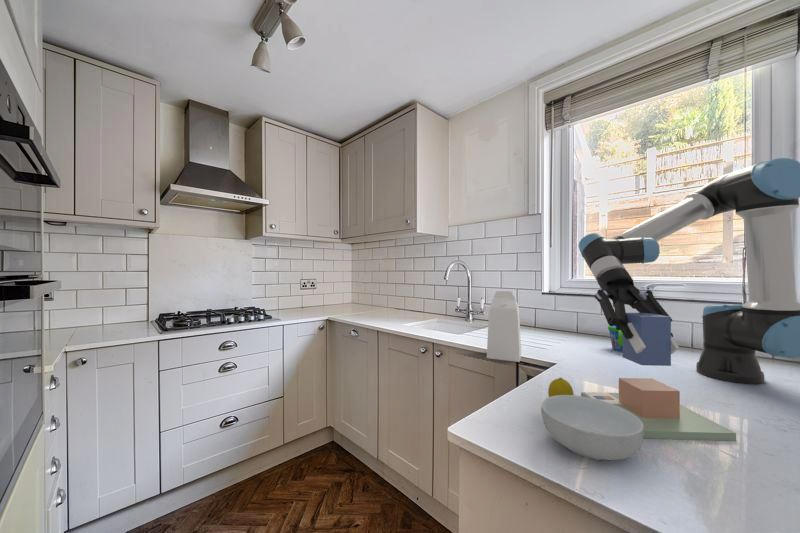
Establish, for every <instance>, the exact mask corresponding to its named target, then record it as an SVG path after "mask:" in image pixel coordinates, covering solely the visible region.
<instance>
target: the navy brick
mask: <svg viewBox="0 0 800 533" xmlns="http://www.w3.org/2000/svg"><path fill="white" fill-rule="evenodd" d="M625 314H626V318H627V324H628V323H632V325H633V326H634V328H635V330H636V331H637V333H638V335H639V336H640V338H641V340H642V341H643V343H644V345H645V346H646V348H645V349H644V350H643V351H642V352H641V353H636V352H635V350H634V348H633V346H632V345H631V343H630V341H629V339H626V338H625V337H624V335H623V352H622V359H625V360H628V361H630V362H633V363H635V364H638V365H639V366H656V367H659V366H663V367H664V366H665V367H671V366H672V354H671V333H672V322H671V319H672V316H670V317H668V316H663V315H658V314H652V313H639V312H626V313H625Z"/></svg>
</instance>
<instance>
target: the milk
mask: <svg viewBox="0 0 800 533" xmlns="http://www.w3.org/2000/svg"><path fill="white" fill-rule="evenodd" d="M491 301H492V302H491V303H490V306H489V310H488V320H487V321H488V324H487V326H488V328H487V346H486V347H487V348H486V359H490V360H491V359H492V360H499V361H507V362H517V363H520V362H521V357H522V343H521V320H520V307H519V304H518V302H517V299H516V296H515V295H514V292H513V290H496V291H495V293H494V295H493V298H492V300H491Z"/></svg>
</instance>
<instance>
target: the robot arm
mask: <svg viewBox="0 0 800 533" xmlns="http://www.w3.org/2000/svg"><path fill="white" fill-rule="evenodd" d="M799 198H800V161H798V160H797V159H796V160H795V159H793V158H787V157H780V158H779V157H778V158H774V159H769V160H765V161H761V162H758V163H755V164H753V165H750V166H747V167H744V168H741V169H739V170H734V171H731V172H729V173H726V174H723V175H721V176H719V177H718V178H715V179H714V180H712V181H710V182H708V183H707V184H705V185H704V186H702V187H700V188H698V189H697V190H694V191H693V192H691V193H689V194H687V195H686V196H685V197H684V199H683V200H682V201H680V202H679V203H677V204H675V205H673V206H671V207H670V208H668V209H666V210H664V211H661V212H660V213H657V214H656V215H654V216H652V217H650V218H649V219H646V220H645V221H642V222H641V223H639V224H637V225H635V226H634V227H631V228H630V229H628V230H626V231H624V232H621V233H620V234H619V235H618V234H617V236H615V237H612V238H610V239H606V237H605V236H604V235H603V234H601V233H598V232H591V233H588V234H587V235H585V236H583V237H582V238H581V239H580V240H579V242H578V249H579V252H580V255H581V257H582V258H583V260H584V261H585V263H586V264H587V267H588V268H589V270H590V271H591V274H592V275H593V277H594V279H595V280H596V282H597V284H598V286H599V288H600V289H598V290H597V291H596V293H595V294H594V299H596V301H597V302H598V304H599V305H600V308H601V310H602V313H603V315H604V317H605V319H606V321H607V324H608V326H609V325H610V326H616V329H617V330H621V332H622V333H623V335H624V337H625V338H626V339H629V341H630V343H631V345H632V346H633V348H634V350H635V352H636V353H641V352H642V351H643V350H644V349H645V348H646V346H645V345H644V343H643V341H642V340H641V338H640V336H639V335H638V333H637V331H636V330H635V328H634V326H633V325H632V323H628V324H627V318H626V314H625V313H627V312H626V306H625V305H627V306H630V307H631V309H634V310H636V311H637V313H652V314H658V315H663V316H668V317H671V316H670V315H669V313H668V312H667V311H666V310H665V309H664V308H663V306H662V305H661V304H660V302H659V301H658V300H657V299H656V298H655V296H654V293H653V291H652V290H649V289H647V290H646V291H642V290H640V289H639V288H637V286H635V284H634V283H635V282H634V279H633V278H632V276H631V275H630V273H629V271H627V269H626V267H625V266H624V265H633V264H647V263H654V262H655V261H657V259H658V258H659V257H660V253H661V250H660V245H659V243H658V242H659V241H661V240H662V239H664V238H666V237H668V236H670V235H673V234H674V233H676V232H678V231H679V230H682V229H684V228H686V227H687V226H689V225H692V224H693V223H696V222H698V221H699V220H708V219H710V218H712V217H714V216H717V215H719V214H724V213H727V212H731V211H735V215H737V216H739V217H740V218H742V219H743V229H744V243H745V245H744V246H745V259H746V261H745V262H746V274H747V276H746V277H747V287H748V288H747V289H748V290H747V291H748V300H747V301H746V302H745V303H743V304H708V305H705V306H704V307H703V311H702V316H701V318H702V342H703V344H702V345H703V347H702V351H701V354H700V355H699V359H698V361H697V362H696V366H695V367H696V370H695V371H696V372H697V373H699V374H701V375H703V376H705V377H706V376H707V377H710V378H713V379H718V380H721V381H726V382H732V383H739V384H750V385H752V384H753V385H756V384H757V385H759V384H760V385H761V384H763V383H765V374H764V372H763V371H762V369H761V366H760V363H759V361H758V359H757V355H756V352H760V353H765V354H768V355H769V356H774V357H782V358H786V359H794V360H795V359H800V303H799V302H798V301H797V290H796V287H797V286H796V276H795V273H796V272H795V260H794V247H793V246H794V245H793V233H792V230H793V229H792V216H791V214H792V213H793V212H795V211H796V209H798V208H799V207H800V202H799V201H800V199H799ZM611 301H612V303H611ZM672 322H673V319H672V318H671V323H672ZM673 337H674V335H673V332H671V355H673V354H674V353H675V352H677V351H678V350H679V349H680V346H679V345H678V343H677V342H676V340H675V339H674V338H673Z"/></svg>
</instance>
